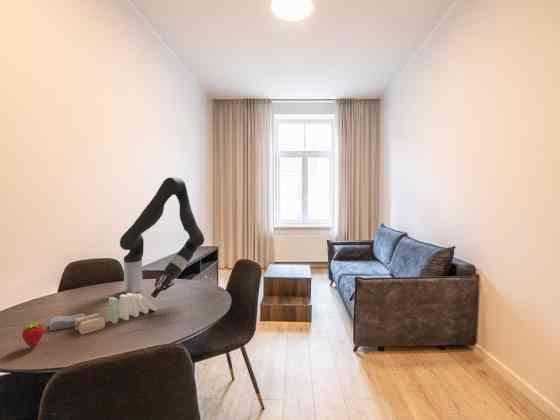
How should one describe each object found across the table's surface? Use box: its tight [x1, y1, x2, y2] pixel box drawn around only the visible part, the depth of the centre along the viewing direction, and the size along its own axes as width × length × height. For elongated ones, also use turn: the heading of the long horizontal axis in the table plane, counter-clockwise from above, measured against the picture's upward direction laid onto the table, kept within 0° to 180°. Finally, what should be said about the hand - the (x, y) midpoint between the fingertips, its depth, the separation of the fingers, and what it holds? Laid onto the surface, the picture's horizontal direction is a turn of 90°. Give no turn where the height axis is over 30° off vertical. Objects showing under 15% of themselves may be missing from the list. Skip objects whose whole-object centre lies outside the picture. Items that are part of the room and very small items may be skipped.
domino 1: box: [108, 296, 119, 325], centre depth 127 cm, size 2×5×10 cm, turn 50°
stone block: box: [49, 312, 86, 331], centre depth 124 cm, size 12×5×10 cm
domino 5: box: [137, 293, 158, 312], centre depth 138 cm, size 2×5×10 cm
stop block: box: [74, 313, 106, 335], centre depth 120 cm, size 8×8×4 cm
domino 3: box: [125, 293, 140, 318], centre depth 133 cm, size 2×5×10 cm, turn 50°
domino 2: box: [119, 293, 130, 321], centre depth 130 cm, size 2×5×10 cm, turn 50°
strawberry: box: [21, 319, 45, 348], centre depth 104 cm, size 6×8×10 cm
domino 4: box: [132, 293, 149, 315], centre depth 135 cm, size 2×5×10 cm, turn 50°
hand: (152, 296), depth 140 cm, fingers closed
